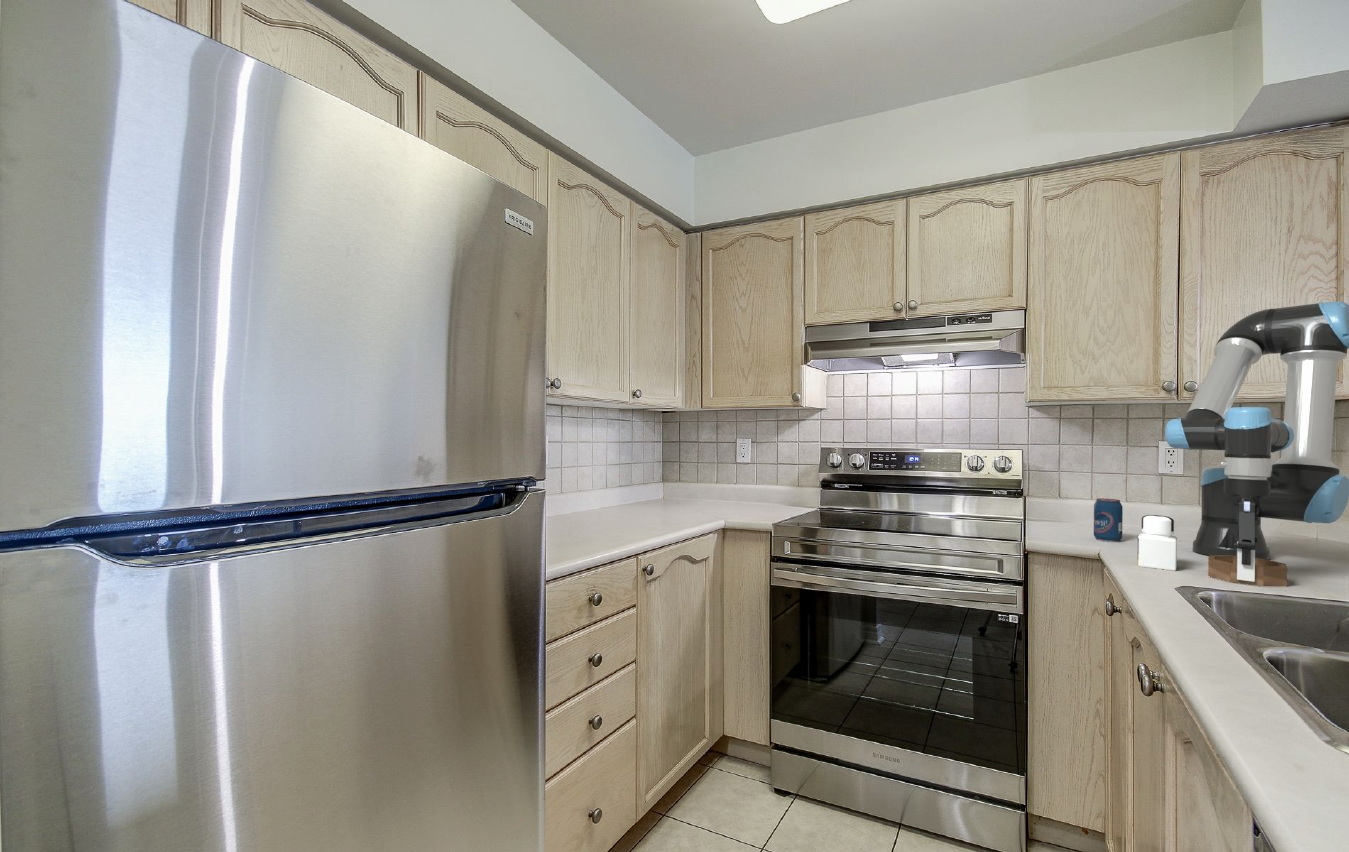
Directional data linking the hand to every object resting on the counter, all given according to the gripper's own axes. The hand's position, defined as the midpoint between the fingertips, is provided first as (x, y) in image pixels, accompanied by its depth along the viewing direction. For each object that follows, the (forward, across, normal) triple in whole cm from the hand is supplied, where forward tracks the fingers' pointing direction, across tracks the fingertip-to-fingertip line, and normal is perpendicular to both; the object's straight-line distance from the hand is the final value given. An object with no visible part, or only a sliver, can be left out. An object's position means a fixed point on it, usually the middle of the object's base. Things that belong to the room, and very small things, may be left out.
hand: (1245, 576), depth 136 cm
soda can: (0, -38, -30) cm, 48 cm away
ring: (+1, 0, 0) cm, 1 cm away
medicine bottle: (+1, -2, -15) cm, 16 cm away
